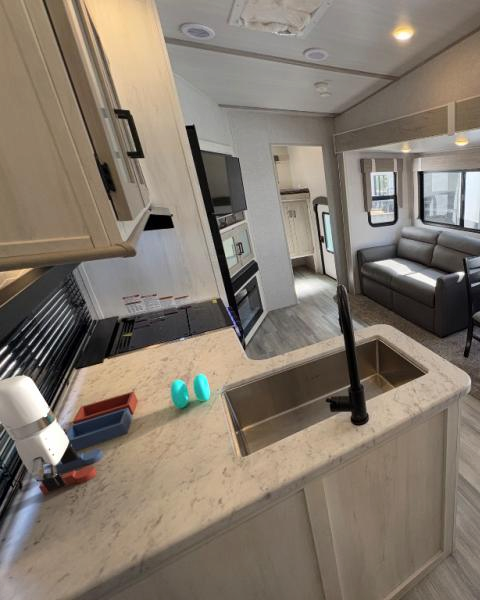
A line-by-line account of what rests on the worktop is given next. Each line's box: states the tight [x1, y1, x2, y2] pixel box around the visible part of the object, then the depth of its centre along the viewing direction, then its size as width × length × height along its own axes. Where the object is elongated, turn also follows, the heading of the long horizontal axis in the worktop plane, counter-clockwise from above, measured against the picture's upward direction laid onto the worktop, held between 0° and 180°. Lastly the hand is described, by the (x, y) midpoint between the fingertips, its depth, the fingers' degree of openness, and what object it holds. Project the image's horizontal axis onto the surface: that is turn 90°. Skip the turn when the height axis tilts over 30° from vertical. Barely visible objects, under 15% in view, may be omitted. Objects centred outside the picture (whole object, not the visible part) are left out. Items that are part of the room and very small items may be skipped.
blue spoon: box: [56, 448, 104, 474], centre depth 88 cm, size 10×4×3 cm, turn 122°
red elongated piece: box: [38, 465, 97, 496], centre depth 82 cm, size 10×4×3 cm, turn 122°
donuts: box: [170, 373, 211, 409], centre depth 111 cm, size 10×10×10 cm
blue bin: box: [66, 408, 133, 452], centre depth 99 cm, size 15×9×4 cm, turn 122°
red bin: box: [72, 390, 139, 425], centre depth 107 cm, size 15×9×4 cm, turn 122°
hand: (64, 473), depth 82 cm, fingers open, 9 cm apart
